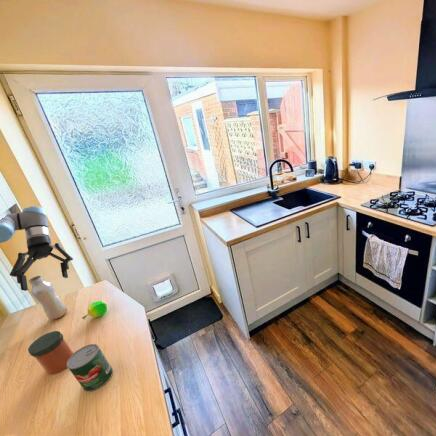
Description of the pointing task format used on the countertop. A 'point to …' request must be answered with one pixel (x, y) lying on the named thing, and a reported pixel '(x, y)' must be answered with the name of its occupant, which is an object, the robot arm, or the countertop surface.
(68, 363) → the canned tomato
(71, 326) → the countertop surface
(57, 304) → the plastic bottle
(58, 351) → the jam jar
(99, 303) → the apple
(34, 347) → the jar lid
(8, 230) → the robot arm
